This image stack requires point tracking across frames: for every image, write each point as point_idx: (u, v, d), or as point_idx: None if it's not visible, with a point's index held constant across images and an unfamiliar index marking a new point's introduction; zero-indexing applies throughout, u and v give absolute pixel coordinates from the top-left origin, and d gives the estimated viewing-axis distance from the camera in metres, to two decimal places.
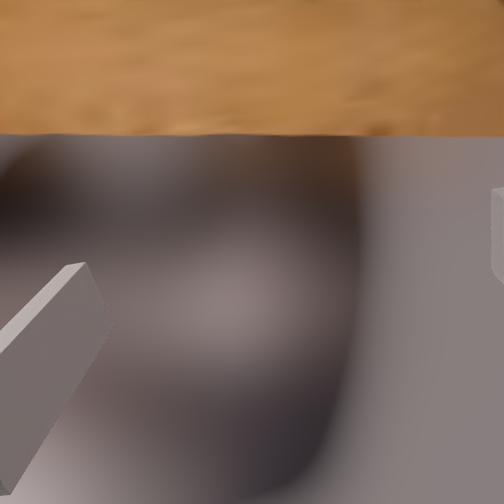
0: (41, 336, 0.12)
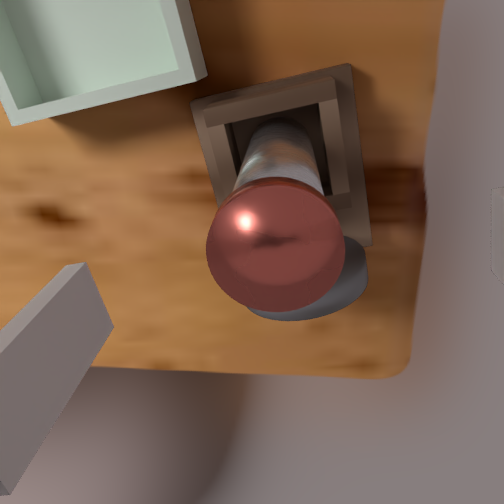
0: (41, 336, 0.12)
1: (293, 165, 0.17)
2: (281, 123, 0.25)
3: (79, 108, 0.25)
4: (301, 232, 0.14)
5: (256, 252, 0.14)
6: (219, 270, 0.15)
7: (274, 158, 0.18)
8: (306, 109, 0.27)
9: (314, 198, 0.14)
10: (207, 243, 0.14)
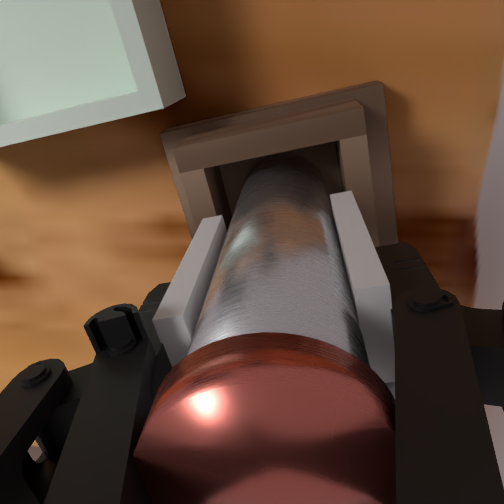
0: (211, 272, 0.13)
1: (306, 271, 0.10)
2: (285, 166, 0.18)
3: (2, 144, 0.18)
4: (327, 462, 0.07)
5: (233, 489, 0.07)
6: None
7: (273, 252, 0.10)
8: (320, 144, 0.19)
9: (358, 404, 0.06)
10: None
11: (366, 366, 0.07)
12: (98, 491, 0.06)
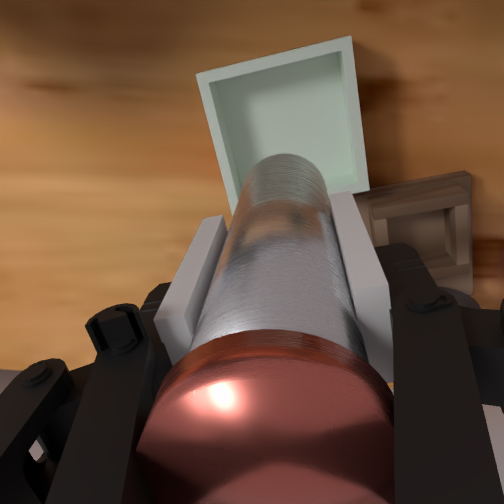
0: (212, 272, 0.13)
1: (306, 269, 0.10)
2: (285, 166, 0.18)
3: None
4: (327, 457, 0.07)
5: (234, 483, 0.07)
6: None
7: (273, 251, 0.11)
8: None
9: (357, 399, 0.06)
10: None
11: (365, 362, 0.07)
12: (99, 491, 0.06)
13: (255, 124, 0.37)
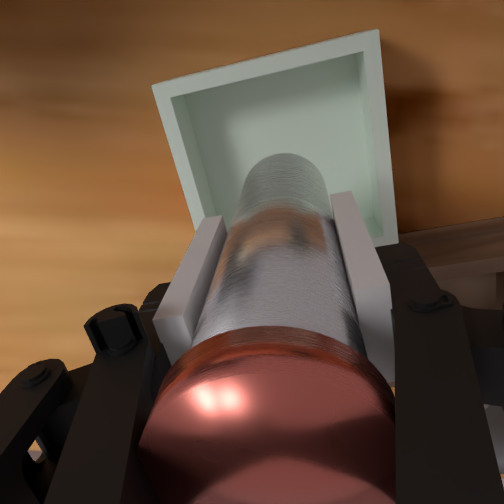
0: (211, 272, 0.13)
1: (306, 267, 0.10)
2: (285, 166, 0.18)
3: None
4: (326, 451, 0.07)
5: (235, 477, 0.07)
6: (165, 500, 0.08)
7: (274, 249, 0.11)
8: None
9: (356, 394, 0.06)
10: None
11: (364, 358, 0.07)
12: (98, 491, 0.06)
13: (239, 151, 0.27)
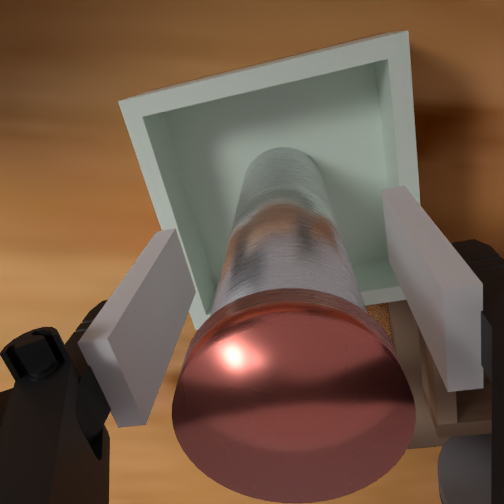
0: (153, 290, 0.13)
1: (313, 244, 0.11)
2: (285, 158, 0.19)
3: None
4: (339, 393, 0.08)
5: (259, 421, 0.08)
6: (196, 445, 0.09)
7: (282, 230, 0.12)
8: None
9: (365, 341, 0.07)
10: (174, 407, 0.08)
11: (370, 316, 0.08)
12: None
13: (232, 179, 0.22)
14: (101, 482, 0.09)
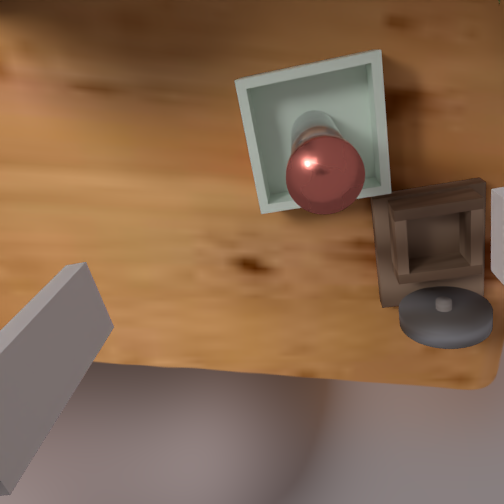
0: (41, 337, 0.12)
1: (332, 132, 0.28)
2: (317, 113, 0.36)
3: None
4: (341, 164, 0.25)
5: (314, 176, 0.26)
6: (292, 187, 0.26)
7: (320, 129, 0.29)
8: None
9: (349, 144, 0.25)
10: (287, 170, 0.26)
11: None
12: None
13: (285, 128, 0.39)
14: None
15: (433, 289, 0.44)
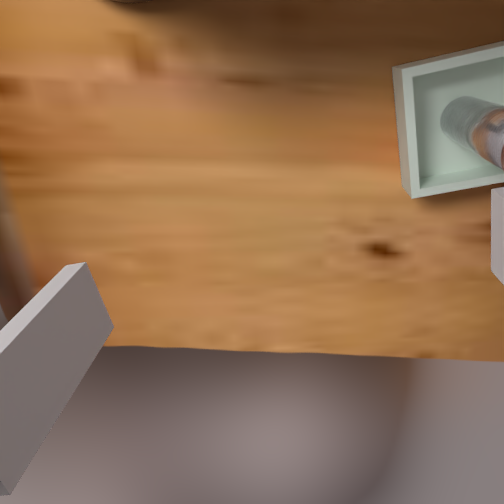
0: (41, 336, 0.12)
1: None
2: (477, 98, 0.38)
3: (461, 188, 0.40)
4: None
5: None
6: None
7: None
8: None
9: None
10: None
11: None
12: None
13: (434, 114, 0.41)
14: None
15: None
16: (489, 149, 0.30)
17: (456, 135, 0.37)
